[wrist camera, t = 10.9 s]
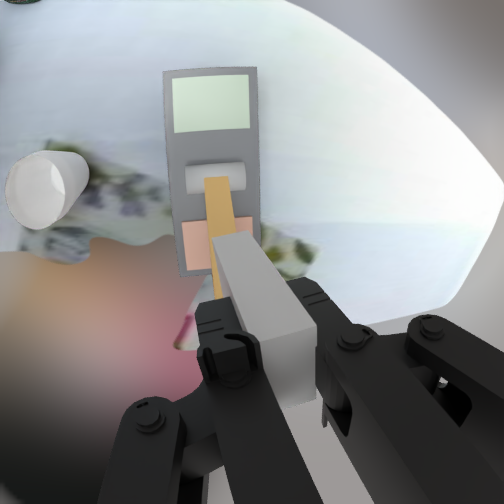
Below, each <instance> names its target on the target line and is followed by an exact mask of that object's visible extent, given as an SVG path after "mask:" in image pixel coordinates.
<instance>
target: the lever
mask: <svg viewBox="0 0 504 504" xmlns="http://www.w3.org/2000/svg"><path fill="white" fill-rule="evenodd" d="M185 176H186V189H187V195H189V194H200V193H205V204H206V216H207V227H208V238H209V248H210V258H211V268H212V277H213V287H214V296H215V300H216V299H220V298H223V294H222V289H221V284H220V279H219V274H218V269H217V264H216V259H215V254H214V249H213V243H212V238H213V237H218V236H223V235H227V234H232V233H236V227H235V220H234V213H233V207H232V200H231V193H230V191H239V190H245V189H246V170H245V164H244V162H231V163H216V164H203V165H191V166H185Z"/></svg>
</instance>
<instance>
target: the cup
mask: <svg viewBox="0 0 504 504" xmlns="http://www.w3.org/2000/svg"><path fill="white" fill-rule="evenodd" d="M88 180H89V168H88V165H87V163H86V161H85V159H84V158H83V157H82V156H80V155H79V154H77V153H74V152H64V151H48V150H44V151H38V152H35V153H33V154H31V155H28V156H26V157H24V158H22V159H20V160H19V161H17V162H16V163H15V164H14V165H13V167H12V168H11V170H10V172H9V174H8V176H7V180H6V185H5V196H6V202H7V205H8V208H9V210H10V212H11V214H12V215H13V217H14V218H15V219H16V220H17V221H18V222H19V223H20V224H22V225H23V226H25V227H27V228H30V229H43V228H46V227H48V226H50V225H51V224H53V223H54V222H56V221H57V220H59V219H61V218H62V217H63V216H64V215H65V214H66V213H67V212H68V211H69V210H70V208H71V207H72V205H73V204H74V203H75V201H76V200H77V198H78V197H79V196H80V194H81V193H82V191H83V190H84V189H85V187H86V185H87V183H88Z"/></svg>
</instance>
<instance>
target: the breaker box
mask: <svg viewBox="0 0 504 504" xmlns="http://www.w3.org/2000/svg"><path fill="white" fill-rule="evenodd" d="M163 95H164V118H165V135H166V150H167V164H168V176H169V187H170V198H171V207H172V217H173V226H174V234H175V242H176V250H177V258H178V265H179V272H180V277H187V276H198V275H209V274H212V268H211V258H210V248H209V238H208V227H207V216H206V204H205V193H200V194H189V195H187V189H186V176H185V166H191V165H203V164H216V163H231V162H244V164H245V170H246V189H245V190H239V191H230V193H231V200H232V207H233V213H234V220H235V227H236V233H237V232H241V231H246V230H248V231H249V232H250V233H251V235H252V236H253V238H254V239H255V240H256V242H257V243H258V244H259V246H260V247H261V229H260V176H259V130H258V91H257V67H215V68H197V69H184V70H173V71H164V72H163Z"/></svg>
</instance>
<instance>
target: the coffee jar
mask: <svg viewBox="0 0 504 504" xmlns="http://www.w3.org/2000/svg"><path fill="white" fill-rule="evenodd" d="M5 1H7V2H9V3H14V4H24V3H31V2H35V1H38V0H5Z"/></svg>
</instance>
